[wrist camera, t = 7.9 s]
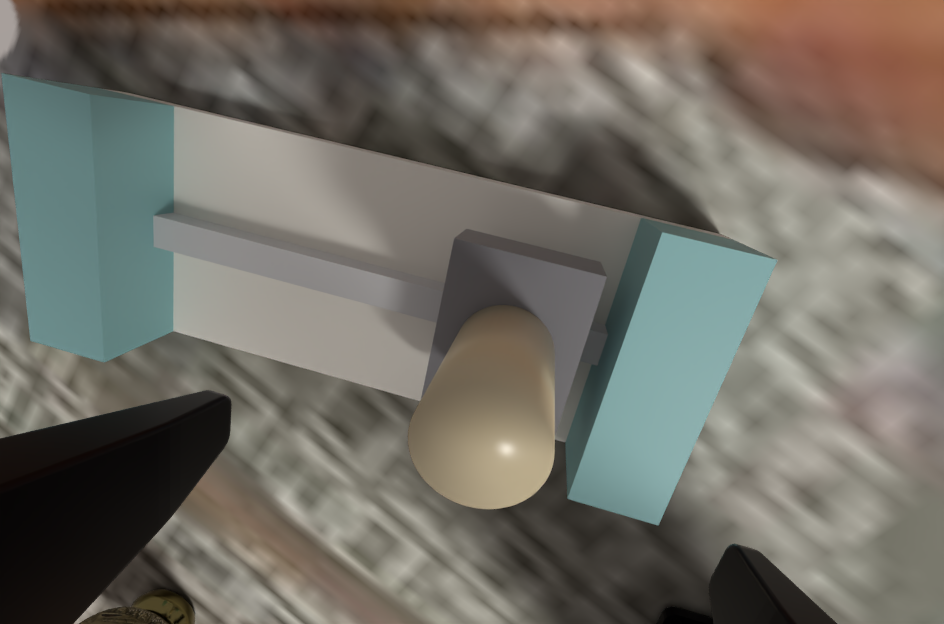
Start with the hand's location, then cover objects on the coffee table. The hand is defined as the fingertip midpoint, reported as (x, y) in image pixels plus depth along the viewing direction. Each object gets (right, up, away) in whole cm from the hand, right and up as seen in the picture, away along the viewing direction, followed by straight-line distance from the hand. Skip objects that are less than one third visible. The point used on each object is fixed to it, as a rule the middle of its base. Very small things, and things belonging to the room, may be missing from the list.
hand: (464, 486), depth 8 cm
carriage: (+2, +3, +9) cm, 9 cm away
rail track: (-3, +5, +11) cm, 12 cm away
